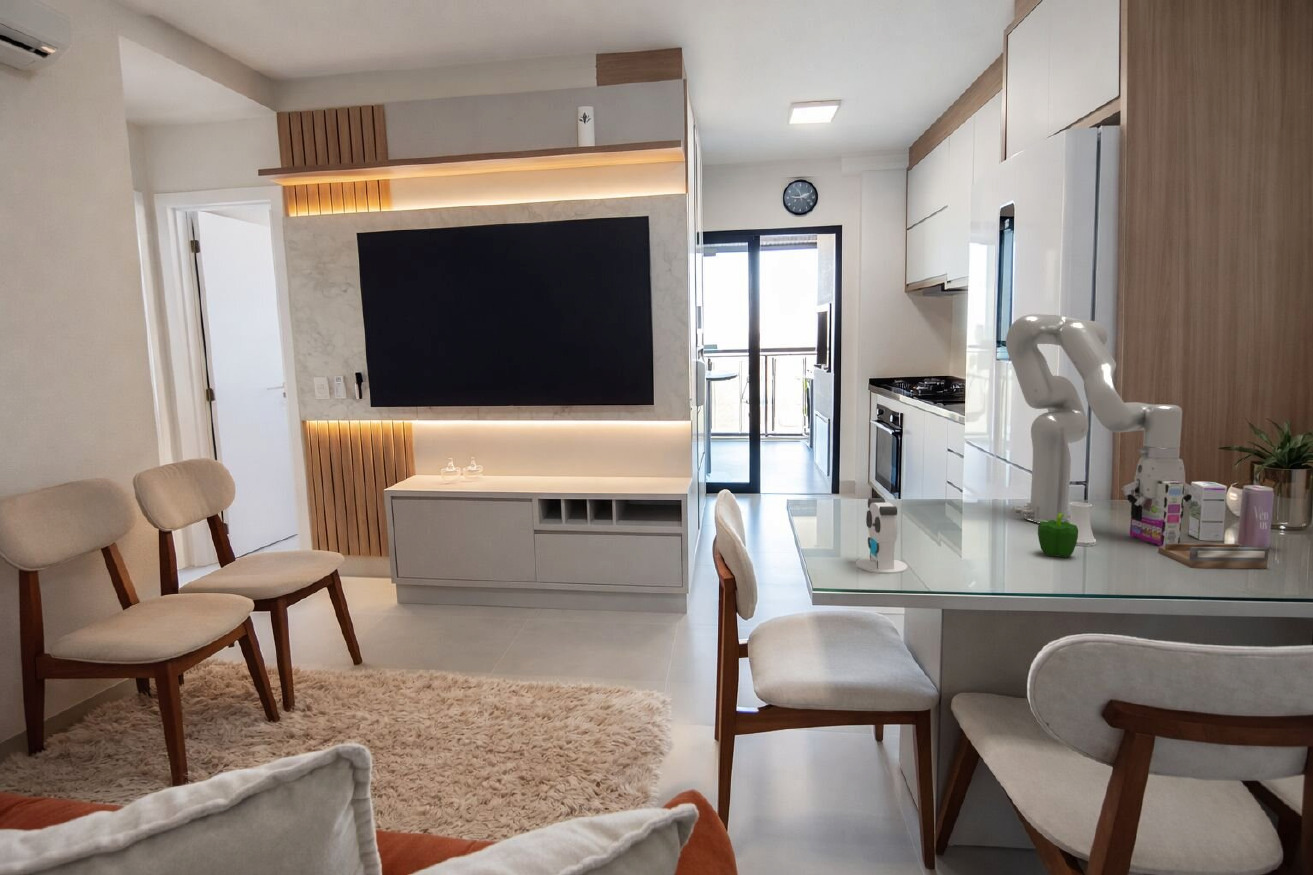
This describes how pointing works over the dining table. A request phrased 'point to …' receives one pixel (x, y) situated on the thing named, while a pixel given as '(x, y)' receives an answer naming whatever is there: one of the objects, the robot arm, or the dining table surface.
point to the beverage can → (1255, 516)
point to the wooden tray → (1216, 555)
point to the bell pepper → (1057, 537)
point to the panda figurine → (881, 538)
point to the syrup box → (1207, 511)
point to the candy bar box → (1160, 515)
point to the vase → (1082, 523)
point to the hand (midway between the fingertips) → (1156, 519)
